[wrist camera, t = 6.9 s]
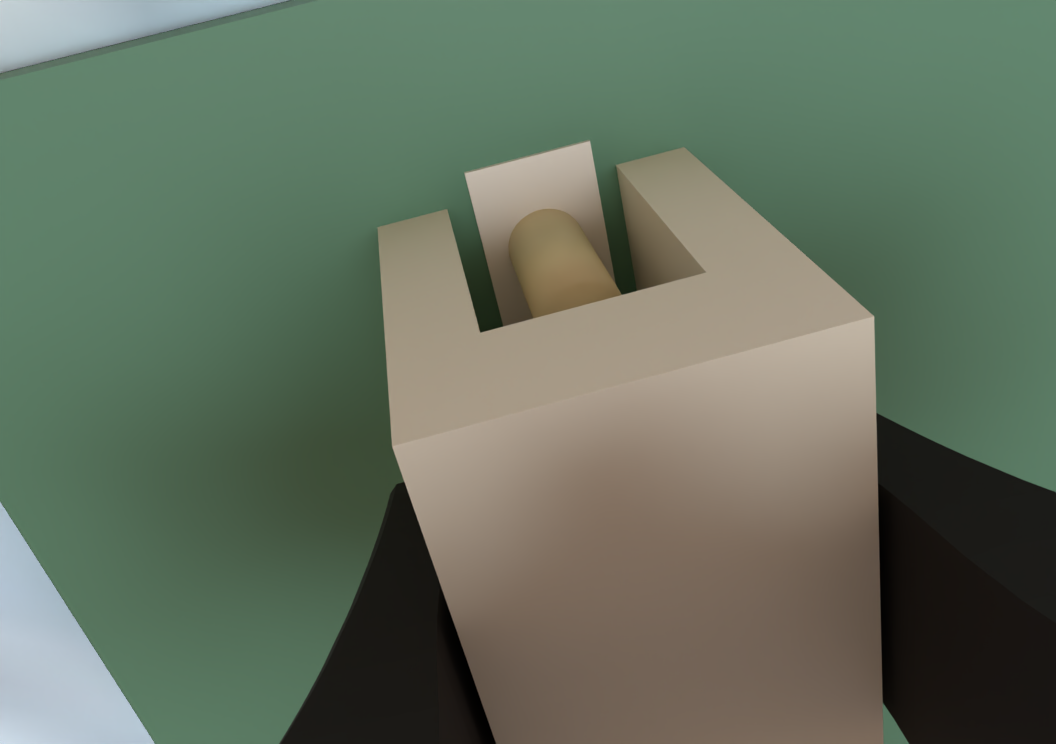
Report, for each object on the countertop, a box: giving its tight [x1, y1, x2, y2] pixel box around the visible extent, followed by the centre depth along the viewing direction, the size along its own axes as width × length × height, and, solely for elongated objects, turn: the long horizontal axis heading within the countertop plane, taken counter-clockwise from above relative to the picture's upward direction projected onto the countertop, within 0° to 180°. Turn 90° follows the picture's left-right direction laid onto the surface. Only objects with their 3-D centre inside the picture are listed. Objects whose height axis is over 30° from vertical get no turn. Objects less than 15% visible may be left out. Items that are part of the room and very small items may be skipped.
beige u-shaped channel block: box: [377, 147, 883, 744], centre depth 11 cm, size 7×4×5 cm, turn 12°
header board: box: [0, 0, 1056, 744], centre depth 15 cm, size 20×24×3 cm
